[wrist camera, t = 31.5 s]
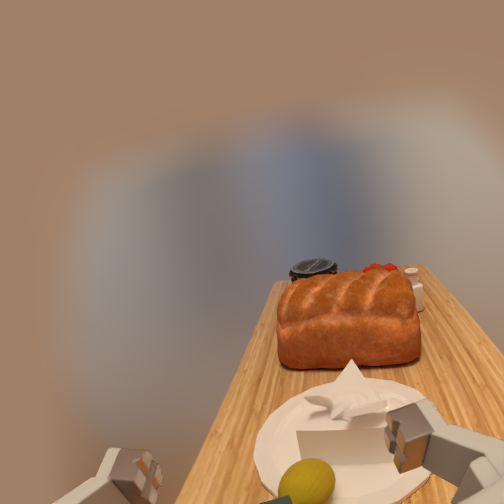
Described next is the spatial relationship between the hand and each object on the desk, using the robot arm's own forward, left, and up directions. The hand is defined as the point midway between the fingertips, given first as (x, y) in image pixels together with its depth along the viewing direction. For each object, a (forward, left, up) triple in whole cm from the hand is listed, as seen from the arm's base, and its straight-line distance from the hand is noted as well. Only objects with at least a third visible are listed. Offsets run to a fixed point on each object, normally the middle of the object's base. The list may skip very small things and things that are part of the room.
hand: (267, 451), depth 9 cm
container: (+15, +69, -25) cm, 75 cm away
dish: (+8, +20, -25) cm, 33 cm away
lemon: (+3, +15, -22) cm, 27 cm away
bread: (+15, +42, -25) cm, 51 cm away
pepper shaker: (+33, +50, -25) cm, 65 cm away
